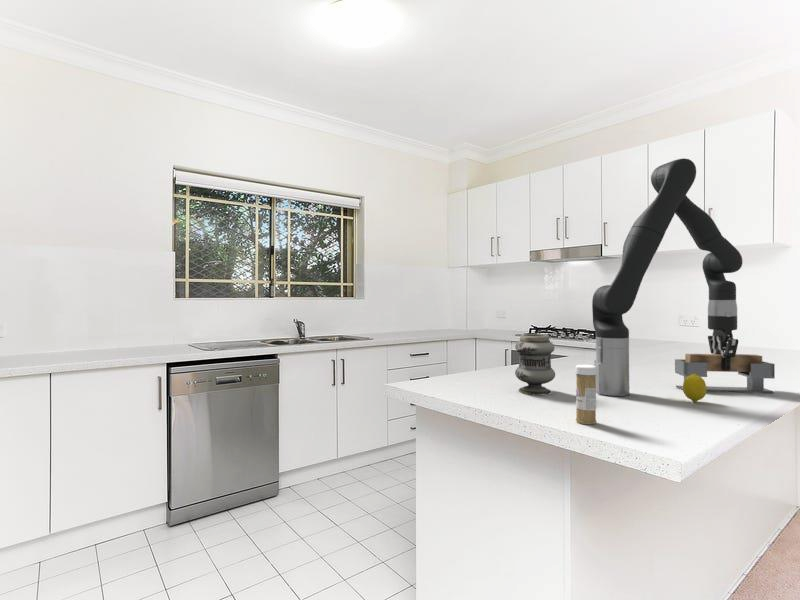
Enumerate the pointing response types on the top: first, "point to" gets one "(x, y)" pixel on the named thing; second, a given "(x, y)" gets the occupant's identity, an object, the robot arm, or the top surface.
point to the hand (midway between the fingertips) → (722, 369)
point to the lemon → (694, 387)
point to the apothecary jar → (535, 363)
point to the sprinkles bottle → (586, 394)
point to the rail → (714, 362)
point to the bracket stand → (753, 376)
